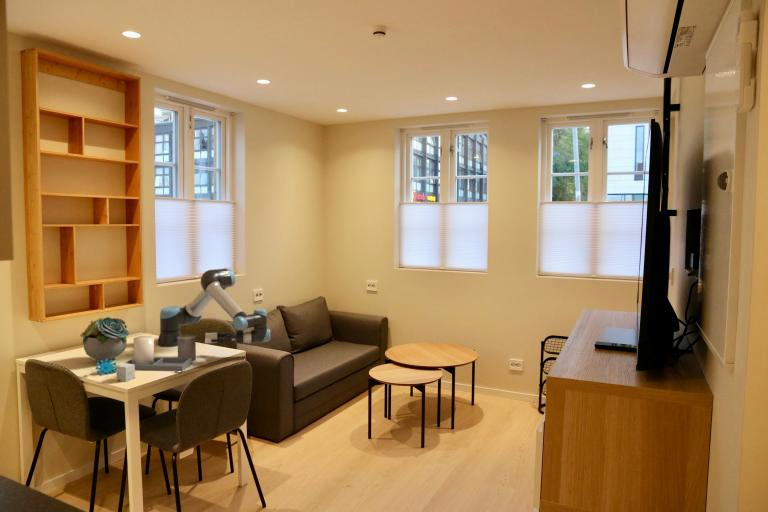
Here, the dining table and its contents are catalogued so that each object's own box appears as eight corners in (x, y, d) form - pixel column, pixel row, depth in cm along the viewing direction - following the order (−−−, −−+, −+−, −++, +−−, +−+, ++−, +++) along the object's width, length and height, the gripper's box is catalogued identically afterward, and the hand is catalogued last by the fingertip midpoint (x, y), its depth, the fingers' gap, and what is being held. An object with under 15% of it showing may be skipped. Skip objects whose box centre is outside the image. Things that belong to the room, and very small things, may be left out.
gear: (95, 375, 263) (96, 358, 269) (93, 381, 266) (93, 364, 272) (120, 375, 269) (119, 358, 275) (117, 381, 272) (117, 364, 278)
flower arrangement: (131, 353, 310) (131, 312, 308) (128, 365, 287) (127, 321, 285) (83, 356, 301) (83, 314, 299) (75, 368, 278) (75, 323, 276)
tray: (135, 363, 292) (135, 356, 291) (191, 363, 293) (191, 357, 293) (122, 371, 276) (122, 364, 275) (182, 372, 277) (182, 365, 277)
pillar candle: (192, 356, 308) (192, 331, 307) (198, 360, 300) (198, 334, 299) (175, 359, 302) (174, 333, 300) (181, 363, 294) (180, 336, 293)
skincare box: (135, 378, 265) (135, 364, 264) (125, 382, 259) (125, 367, 259) (125, 377, 267) (125, 362, 266) (116, 380, 261) (115, 365, 261)
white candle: (138, 362, 289) (138, 335, 288) (156, 363, 289) (156, 336, 288) (130, 368, 279) (130, 340, 278) (149, 368, 279) (149, 340, 278)
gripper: (244, 347, 298) (204, 349, 291) (242, 338, 321) (205, 339, 315) (244, 334, 297) (204, 336, 291) (242, 325, 321) (205, 327, 314)
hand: (205, 338), depth 303 cm, fingers open, 13 cm apart
